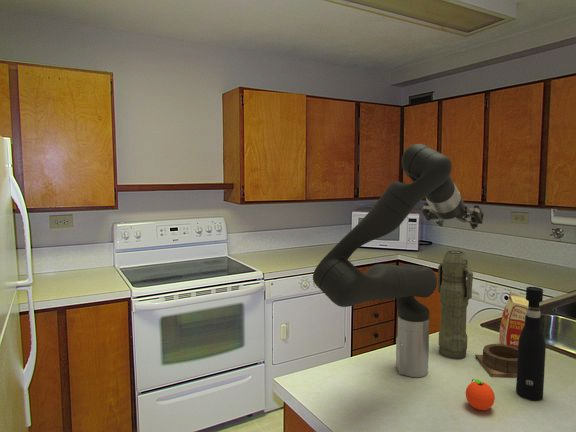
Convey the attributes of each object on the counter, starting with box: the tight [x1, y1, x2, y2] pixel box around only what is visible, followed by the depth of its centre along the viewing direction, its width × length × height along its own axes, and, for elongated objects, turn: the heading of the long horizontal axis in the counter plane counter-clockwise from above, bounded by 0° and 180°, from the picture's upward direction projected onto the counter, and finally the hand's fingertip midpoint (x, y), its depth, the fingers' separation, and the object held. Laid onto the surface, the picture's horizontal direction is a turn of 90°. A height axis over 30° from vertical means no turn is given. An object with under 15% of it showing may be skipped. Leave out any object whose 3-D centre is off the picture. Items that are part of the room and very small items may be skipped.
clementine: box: [465, 378, 496, 411], centre depth 107 cm, size 8×7×7 cm
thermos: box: [437, 250, 474, 360], centre depth 137 cm, size 9×12×35 cm
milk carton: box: [498, 291, 529, 348], centre depth 142 cm, size 9×9×20 cm
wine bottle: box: [515, 286, 547, 402], centre depth 111 cm, size 6×6×30 cm
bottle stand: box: [474, 343, 518, 379], centre depth 129 cm, size 13×13×5 cm
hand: (457, 224), depth 112 cm, fingers open, 8 cm apart
